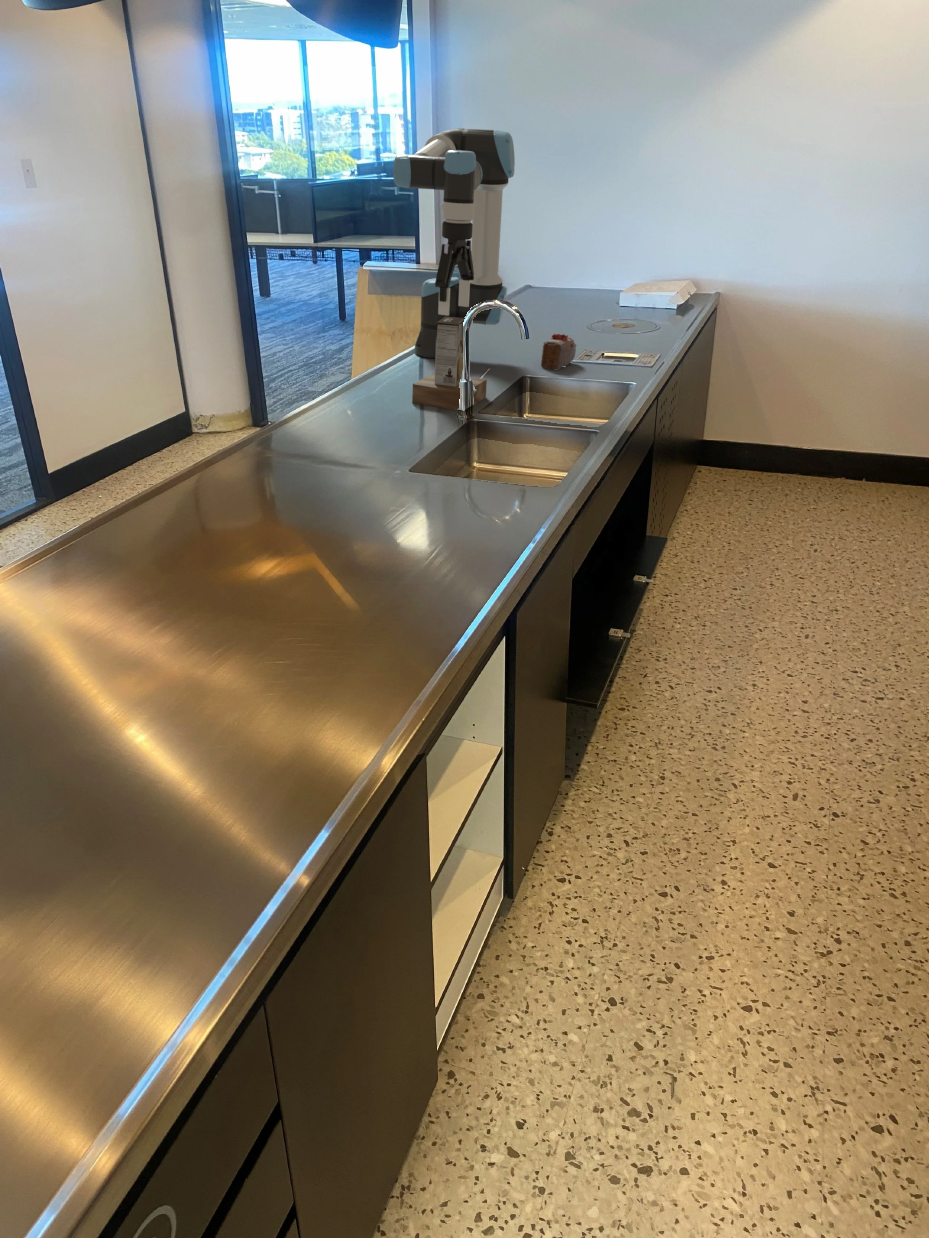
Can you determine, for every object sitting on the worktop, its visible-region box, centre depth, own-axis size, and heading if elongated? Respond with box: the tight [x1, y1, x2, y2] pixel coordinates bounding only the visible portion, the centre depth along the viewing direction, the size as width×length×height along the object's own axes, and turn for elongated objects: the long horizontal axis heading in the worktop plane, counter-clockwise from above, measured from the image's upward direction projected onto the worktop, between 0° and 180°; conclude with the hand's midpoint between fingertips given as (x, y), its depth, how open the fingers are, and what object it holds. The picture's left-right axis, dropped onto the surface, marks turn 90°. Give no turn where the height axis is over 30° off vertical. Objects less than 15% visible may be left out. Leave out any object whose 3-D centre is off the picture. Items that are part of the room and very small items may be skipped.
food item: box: [540, 333, 577, 370], centre depth 280 cm, size 14×8×10 cm, turn 156°
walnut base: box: [411, 372, 488, 411], centre depth 239 cm, size 16×15×5 cm
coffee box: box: [434, 317, 465, 387], centre depth 234 cm, size 9×6×16 cm
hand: (453, 310), depth 229 cm, fingers open, 13 cm apart
